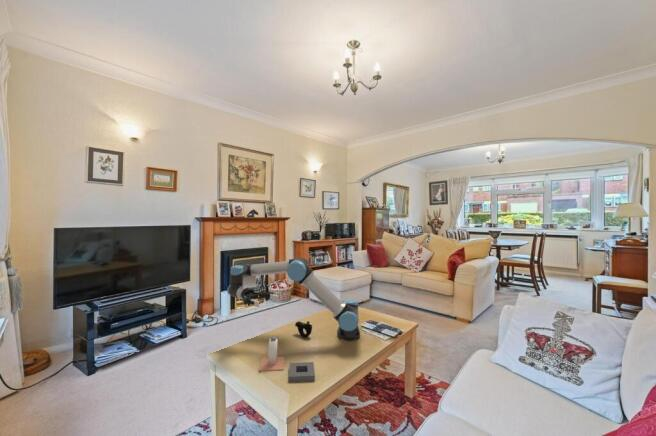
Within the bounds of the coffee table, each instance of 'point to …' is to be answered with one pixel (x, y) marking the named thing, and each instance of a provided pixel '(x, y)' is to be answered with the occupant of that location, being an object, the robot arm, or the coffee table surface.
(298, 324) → the controller
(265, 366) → the tile
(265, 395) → the coffee table surface
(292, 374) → the socket block
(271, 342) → the plug
